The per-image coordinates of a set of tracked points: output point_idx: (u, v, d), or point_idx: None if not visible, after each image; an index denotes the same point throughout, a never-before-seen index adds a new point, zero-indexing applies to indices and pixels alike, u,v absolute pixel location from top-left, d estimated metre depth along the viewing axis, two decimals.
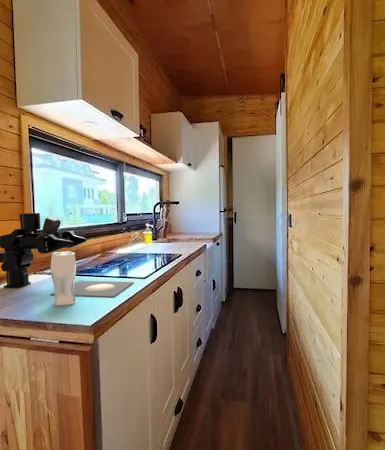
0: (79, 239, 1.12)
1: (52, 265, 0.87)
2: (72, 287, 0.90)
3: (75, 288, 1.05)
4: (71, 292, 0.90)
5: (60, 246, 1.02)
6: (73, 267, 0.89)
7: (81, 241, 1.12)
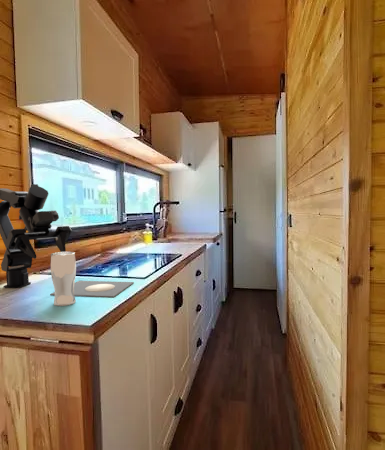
0: (61, 247, 0.99)
1: (52, 265, 0.87)
2: (72, 287, 0.90)
3: (75, 288, 1.05)
4: (71, 292, 0.90)
5: (26, 251, 0.92)
6: (73, 267, 0.89)
7: (61, 250, 0.99)
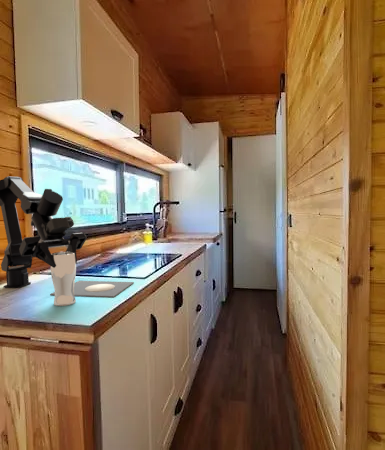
0: None
1: None
2: (72, 287, 0.90)
3: (75, 288, 1.05)
4: (71, 292, 0.90)
5: (44, 259, 0.88)
6: (73, 267, 0.89)
7: None
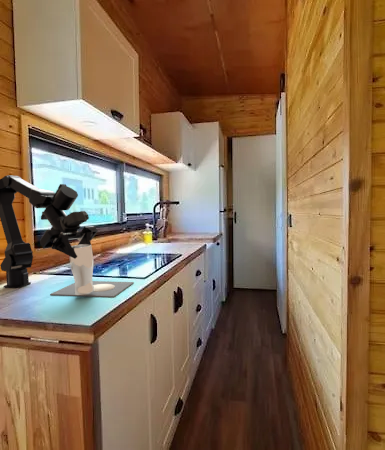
0: None
1: None
2: (91, 277, 0.97)
3: None
4: (91, 281, 0.96)
5: (65, 251, 0.93)
6: (92, 258, 0.96)
7: None
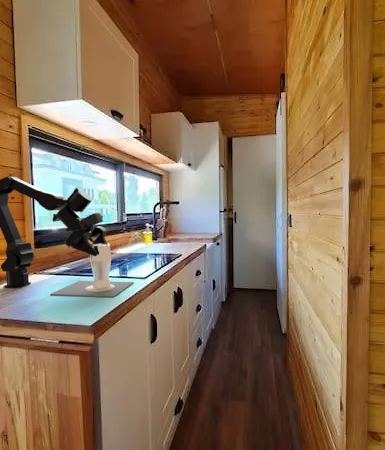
0: None
1: None
2: None
3: (75, 288, 1.05)
4: None
5: (85, 250, 1.00)
6: (110, 255, 1.07)
7: None
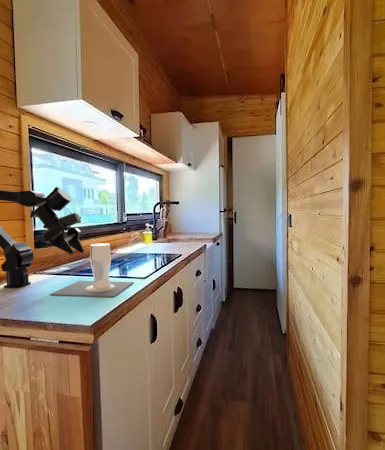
0: (78, 246, 1.13)
1: (96, 254, 1.03)
2: None
3: (75, 288, 1.05)
4: (108, 277, 1.07)
5: (61, 247, 1.02)
6: (110, 255, 1.07)
7: (78, 249, 1.12)
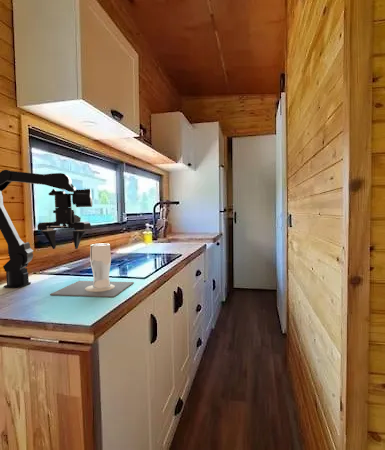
0: (54, 242, 1.15)
1: (96, 254, 1.03)
2: None
3: (75, 288, 1.05)
4: (108, 277, 1.07)
5: (77, 239, 1.13)
6: (110, 255, 1.07)
7: (53, 244, 1.15)
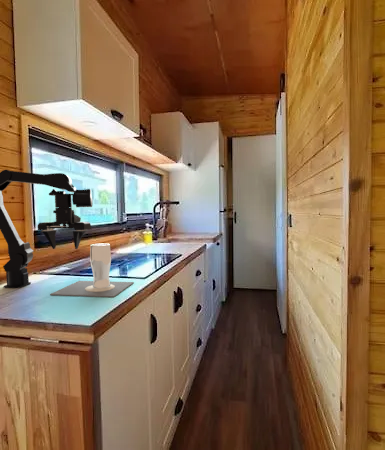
0: (54, 242, 1.15)
1: (96, 254, 1.03)
2: None
3: (75, 288, 1.05)
4: (108, 277, 1.07)
5: (77, 239, 1.13)
6: (110, 255, 1.07)
7: (53, 244, 1.15)
